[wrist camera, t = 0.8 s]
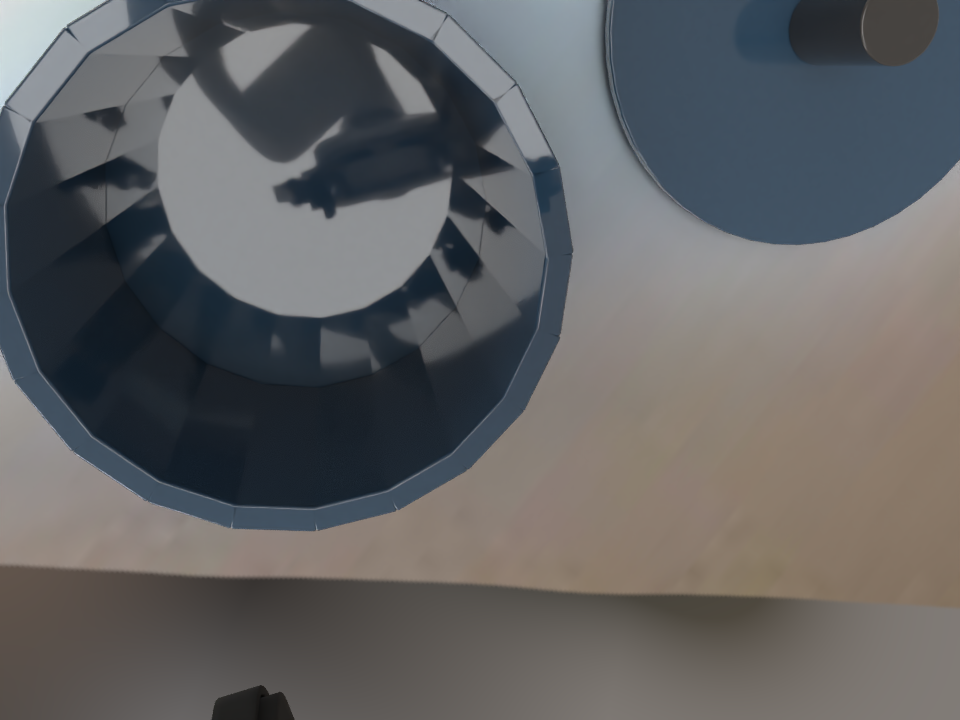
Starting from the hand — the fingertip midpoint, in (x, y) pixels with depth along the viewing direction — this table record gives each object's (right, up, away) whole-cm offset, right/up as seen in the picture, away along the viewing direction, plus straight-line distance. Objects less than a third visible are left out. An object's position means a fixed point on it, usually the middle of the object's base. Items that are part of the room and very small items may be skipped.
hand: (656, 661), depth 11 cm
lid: (+11, +17, +23) cm, 31 cm away
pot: (-9, +10, +23) cm, 27 cm away
